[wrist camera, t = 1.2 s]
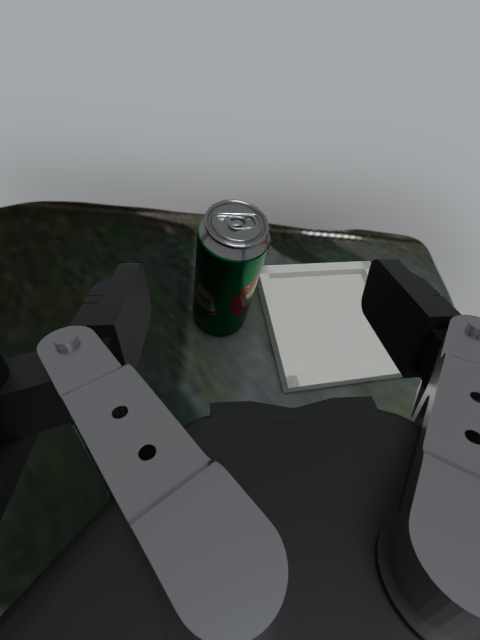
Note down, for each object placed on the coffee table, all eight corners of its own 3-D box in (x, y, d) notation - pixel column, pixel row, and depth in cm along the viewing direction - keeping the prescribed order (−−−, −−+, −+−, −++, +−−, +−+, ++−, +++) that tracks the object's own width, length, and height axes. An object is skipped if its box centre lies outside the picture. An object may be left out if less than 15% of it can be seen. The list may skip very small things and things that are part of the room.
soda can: (187, 297, 32) (190, 198, 22) (236, 289, 34) (260, 192, 23) (199, 342, 30) (209, 256, 20) (251, 332, 31) (285, 245, 21)
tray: (283, 393, 29) (288, 387, 28) (254, 274, 35) (257, 266, 34) (410, 376, 32) (420, 370, 30) (362, 269, 38) (369, 261, 37)
